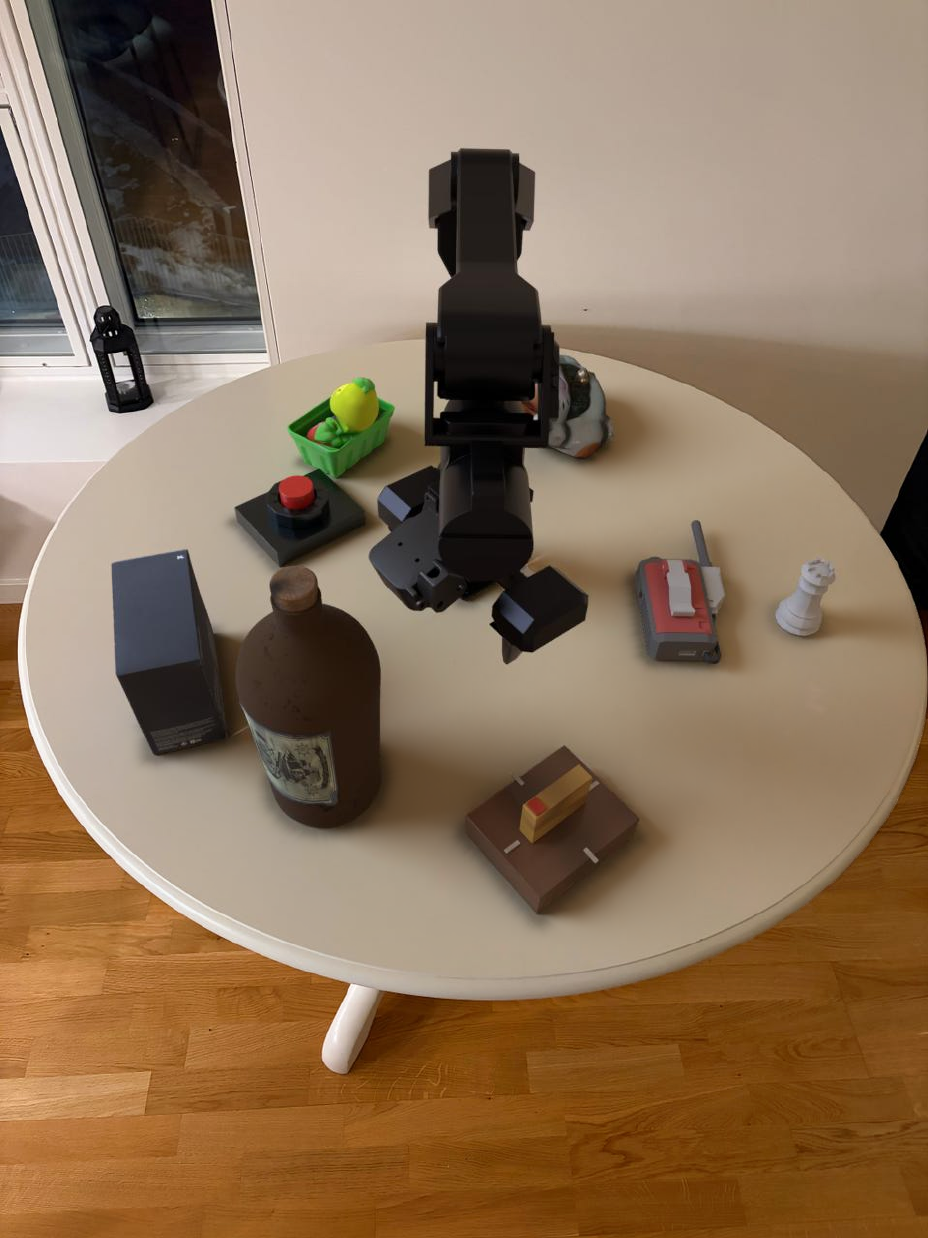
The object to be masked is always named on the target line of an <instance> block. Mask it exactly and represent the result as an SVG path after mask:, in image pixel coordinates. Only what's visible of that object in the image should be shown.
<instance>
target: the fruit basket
mask: <svg viewBox="0 0 928 1238" xmlns="http://www.w3.org/2000/svg"><path fill="white" fill-rule="evenodd" d="M395 409H396V406H395V405H394V404H392V403H390V402H388V401H385V400H384V399H382V398H380V397H378V394H377V391H376V385H375V383H374V382H373V380H371V379H370V378H367V377H362V376H361V377H360V376H359V377H356V378H355V379H354V380H352V382H348V383H345V384H343V385H341V386H339V387H337V388H336V389H335V390H334V391H333V393H332V394H331V396H329V397H328V398H326V399H324V400H323V401H322V402H321V403H319V404H318V405H316V406H314V407H313V408H312V409H310V410H309V411H307V412H305V413H304V414H303V415H300V417H298V418H296V420H293V421H292V422H291V423H289V424H288V425H287V426H286V430H287V432H288V434H289V436H290V438H292V439H293V442H294V443H295V446H296V447H297V450H298V452H299V454H300V456H301V458H302V460H303V462H304V463H305V464H307V465H311V466H312V467H313V468H315V469H316V470H317V469H319V468H320V469H321V470H322V471H323V472H324V473H325V474H327V475H330V476H331V477H332V478H334V479H338V478H339V477H340V476H342V475H343V474H344V473H345V472H346V470H348V469H351V468H352V467H353V466H355V465H356V464H357V463H358V462H359V461H360V460H361V459H363V458H365V457H366V456H368V455H369V454H370V453H372V452H373V450H374V449H376V448H378V447H379V446H381V445H382V444H383V443H384V442H385V439H386V436H387V433H388V429H389V425H390V421H391V419H392V417H393V415H394V412H395Z"/></svg>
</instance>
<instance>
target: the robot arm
mask: <svg viewBox="0 0 928 1238" xmlns="http://www.w3.org/2000/svg"><path fill="white" fill-rule="evenodd" d="M535 195H536V171H535V170H533V169H532V168H530V167H528V166H526V165H524V164H523V163H521V162H520V153H518V152H512V151H511V150H510V149H509V148H475V147H474V148H471V147H470V148H469V147H461V148H460V149H458V151H450V159H448V160H446V161H444V162H442V163H440V164H437V165H436V166H433V167H431V168H429V169H428V202H427V203H428V212H427V213H428V216H427V219H428V220H427V221H428V229H433V230H437V231H436V233H437V237H436V239H437V244H436V245H437V246H436V247H437V254H438V257H439V258H440V261H441V262H442V264H443V265H444V267H445V269H446V272H447V273H448V275H449V277H450V278H449V279H448V280H447V281H446V282H444V283H443V284H442V285H441V286H440V287H438V290H437V320H436V321H437V322H425V339H424V340H425V348H424V349H425V350H424V352H425V353H424V359H425V360H424V447H440V455H439V456H440V457H439V461H440V462H439V463H438V465H437V466H433V465H428V466H426V467H424V468H422V469H420V470H417V471H416V472H412V473H411V474H409V475H407V476H405V477H404V476H403V478H400V479H398V480H396V481H394V482H391V483H389V484H387V485H385V486H384V487H383V489H382V490H381V492H380V493H379V495H378V497H377V498H376V503H377V517H378V519H380V520H381V521H382V522H383V523H384V524H385V525H386V526H387V529H388V530H389V533H388V534H387V535H386V536H384V537H383V538H382V539H381V540H379V542H377V543H376V544H375V545H373V547H371V549H370V551H369V554H368V560H369V562H370V564H371V565H372V567H373V568H374V570H375V572H376V573H377V575H378V577H379V579H380V580H381V581H382V583H383V585H384V586H385V587H386V588H387V589H389V590H390V592H392V593H393V595H394V596H396V597H397V598H398V600H400V601H401V602H402V604H403V605H404V606H405V607H406V608H407V609H408V610H411V611H413V612H422V611H424V610H425V609H428V608H429V609H431V610H432V611H434V612H435V613H436V614H439V613H443V612H445V611H446V610H448V608H450V607H451V606H452V605H453V604H454V603H455V602H457V601H458V600H459V599H460V600H462V601H468V600H470V599H471V598H473V597H475V596H477V595H478V594H481V593H482V592H483V591H485V590H487V589H488V588H490V587H492V586H494V585H495V584H497V585H499V586H500V587H501V588H502V589H503V591H502V592H501V593H500V594H499V596H498V597H497V598H496V600H495V601H494V602H493V604H492V607H491V618H492V620H493V621H491V622H489V623H488V625H489V626H490V627H491V628H492V629H493V631H495V632H496V633H497V634H498V635H499V636H501V656H502V657H501V658H502V662H503V664H505V665H506V666H507V665H510V664H511V663H512V662H514V661H516V660H517V659H518V658H519V656H520V655H521V654H522V653H535V652H537V651H538V650H539V649H541V648H543V647H544V646H546V645H548V644H549V643H551V642H552V641H554V640H556V639H557V638H559V637H561V636H562V635H564V634H565V633H568V632H569V631H570V630H573V629H574V628H575V627H577V626H579V625H580V624H582V623H584V622H585V621H586V619H587V612H588V608H589V598H590V597H589V594H588V593H587V592H585V591H584V589H582V588H581V587H580V586H578V585H577V584H576V583H575V582H574V581H573V580H571V579H570V578H569V577H568V576H566V575H565V574H564V573H563V572H562V571H561V570H560V569H558V568H556V567H554V566H553V565H550V564H549V565H547V566H545V567H544V568H542V569H540V570H537V571H536V572H535V571H533V570H532V569H531V568H530V567H529V566H527V564H528V563H529V561H530V560H531V558H532V556H533V552H534V549H535V547H534V545H535V541H534V539H535V538H534V530H533V517H532V504H531V503H533V500H534V491H535V490H534V489H532V488H531V487H530V480H529V479H530V478H529V474H528V471H527V468H526V467H525V454H526V453H525V452H526V449H549V446H548V444H549V422H556V421H557V420H558V418H559V355H561V354H560V352H561V351H560V350H561V349H560V344H559V343H558V342H557V341H556V339H555V331H552V326H551V324H542V323H543V322H542V312H541V304H540V303H541V302H540V295H539V291H538V288H536V287H535V286H533V285H532V284H531V283H530V282H528V281H527V280H526V279H525V278H523V277H522V276H521V275H520V274H519V269H518V261H519V259H520V257H521V256H522V252H523V238H524V237H523V236H524V232H530V231H531V229H532V227H533V224H534V221H535V198H536V197H535ZM435 383H436V397H438V398H439V399H440V400H445V401H447V403H446V404H445V407H444V408H443V409H444V410H443V411H441V412H440V413H439V417H435V415H434V414H435ZM535 384H538V419H533V418H534V416H533V414H531V413H524V411H523V409H522V407H521V405H520V403H519V401H532V400H533V399H534V398H535Z"/></svg>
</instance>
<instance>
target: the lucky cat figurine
mask: <svg viewBox="0 0 928 1238" xmlns="http://www.w3.org/2000/svg"><path fill="white" fill-rule="evenodd" d="M519 403H520V405H521V407H522V409H523V411H524V413H531V414H533V416H534V418H533V419H538V384H535V398H534V399H533V400H532V401H519ZM613 427H614V426H613V421H612V418H610V416H609V415H608V414H607V401H606V395H605V391H604V390H603V387H602V385H601V383H600V381H599V380H598V378H597V376H596V374H595V372H593V371H589V370H588V369H587V368H586V367H584V366H582V365H581V363H580V362H579V361H578V360H577V359H576V358H574V357H572V356H570V355H566V354H560V355H559V418H558V420H557V421H556V422H549V444H548V447H550V448H554V449H555V450H557V451H560V452H561V453H563V454H567V455H569V456H572V457H575V458H578V459H585V458H588V457H589V456H591V455H593V453H594V452H595V451H597V450H598V449H600V448H601V447H602V446H604V445H605V444H606V443H611V442H612V441H613V439H614V437H615V436H614V432H613V431H614V429H613Z"/></svg>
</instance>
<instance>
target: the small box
mask: <svg viewBox="0 0 928 1238" xmlns="http://www.w3.org/2000/svg"><path fill="white" fill-rule="evenodd" d="M110 565H111V590H112V591H111V593H112V612H113V615H112V616H113V643H114V667H115V676H116V679H117V680H118V683H119V684H120V687H121V688H122V691H123V693H124V695H125V698H126V700H127V702H128V704H129V706H130V708H131V710H132V712H133V715H134V717H135V718H136V721H137V723H138V725H139V727H140V729H141V732H142V733H143V735H144V738H145V740H146V742H147V745H148V746H149V749H150V751H151V753H152V755H154V756H155V755H159V754H165V753H169V752H170V753H171V752H174V751H178V750H184V749H187V748H190V747H197V746H200V745H204V744H208V743H213V742H217V741H221V740H225V739H228V738H229V732H228V726H227V718H226V711H225V703H224V697H223V691H222V681H221V675H220V668H219V662H218V655H217V646H216V640H215V633H214V630H213V625H212V623H211V620H210V616H209V614H208V611H207V608H206V605H205V603H204V599H203V596H202V594H201V593H202V592H201V590H200V587H199V584H198V581H197V577H196V574H195V571H194V567H193V563H192V559H191V556H190V553H189V549H188V548H183V549H179V550H178V549H177V550H172V551H167V552H162V553H156V554H151V555H145V556H137V557H133V558H128V559H122V560H117V561H114V562H111V564H110Z"/></svg>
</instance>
